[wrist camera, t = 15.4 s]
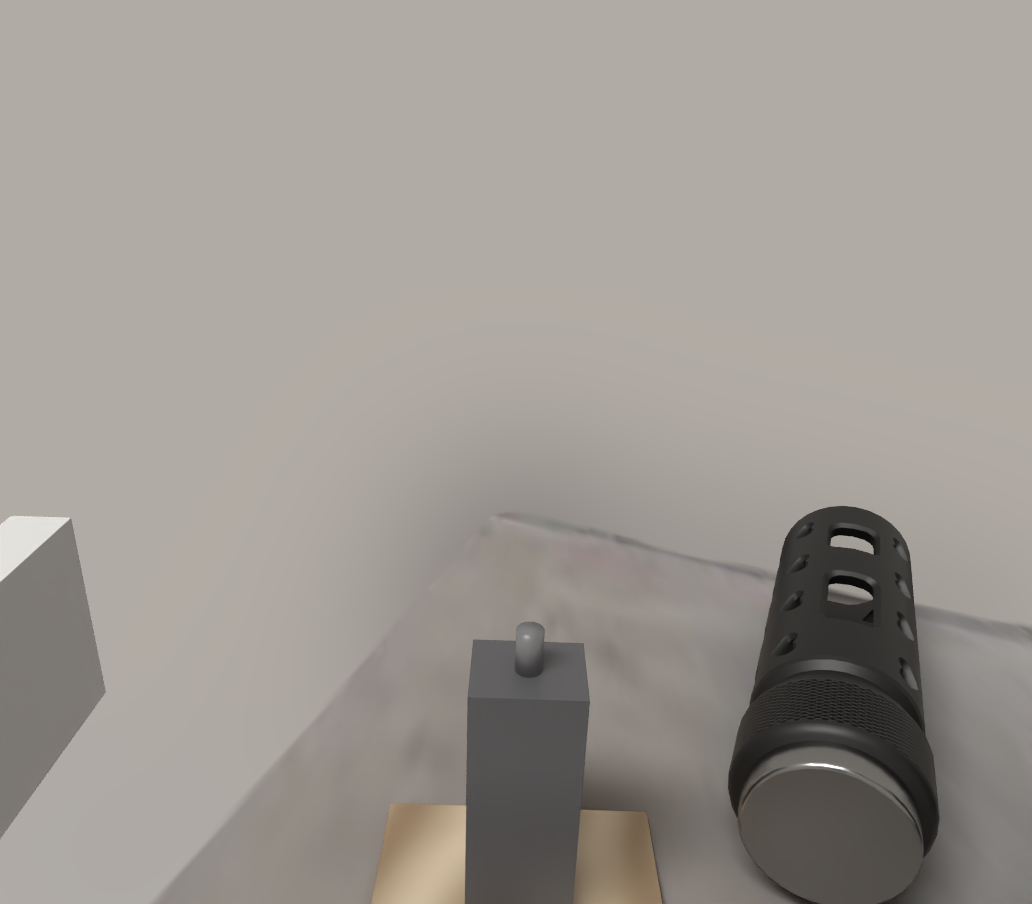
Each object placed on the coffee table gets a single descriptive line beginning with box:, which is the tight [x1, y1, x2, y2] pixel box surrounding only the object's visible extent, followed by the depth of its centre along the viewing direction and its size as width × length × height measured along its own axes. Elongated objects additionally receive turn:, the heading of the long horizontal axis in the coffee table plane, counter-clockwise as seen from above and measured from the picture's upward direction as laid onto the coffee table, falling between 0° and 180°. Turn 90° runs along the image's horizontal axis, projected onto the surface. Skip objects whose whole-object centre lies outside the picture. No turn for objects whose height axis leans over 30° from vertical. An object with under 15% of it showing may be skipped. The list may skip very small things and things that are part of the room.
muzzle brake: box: [728, 506, 939, 904], centre depth 50 cm, size 10×28×10 cm, turn 158°
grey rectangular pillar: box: [465, 622, 590, 904], centre depth 38 cm, size 5×4×15 cm
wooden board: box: [371, 803, 662, 904], centre depth 41 cm, size 14×10×1 cm
